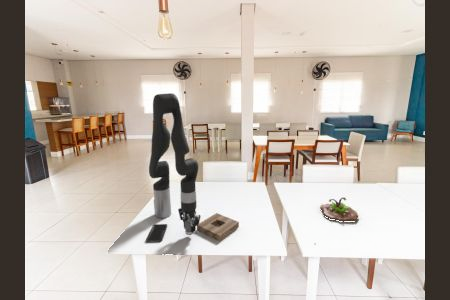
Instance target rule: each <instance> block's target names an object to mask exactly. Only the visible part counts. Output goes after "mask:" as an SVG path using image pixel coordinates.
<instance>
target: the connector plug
mask: <svg viewBox="0 0 450 300" xmlns="http://www.w3.org/2000/svg"><path fill="white" fill-rule="evenodd" d="M192 219H193V218H192ZM192 219H191V220H192ZM193 223H194V222H193ZM184 230H185V231H184V232H185V234H186V235H187V236H191V235H193V234H194V233H195V232H193V233H192V232H191V223H190V222H189V219H186V220H185V229H184Z"/></svg>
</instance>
